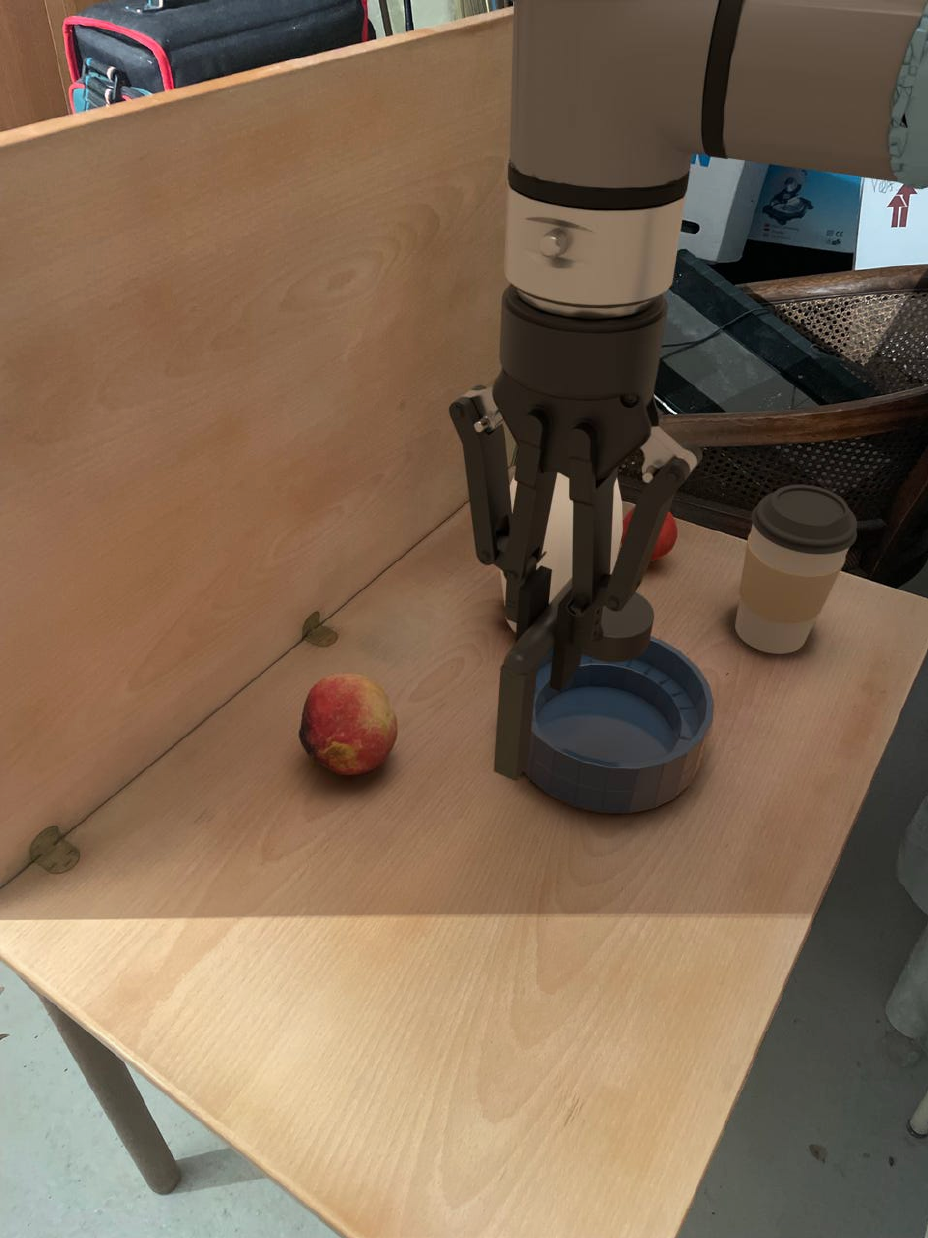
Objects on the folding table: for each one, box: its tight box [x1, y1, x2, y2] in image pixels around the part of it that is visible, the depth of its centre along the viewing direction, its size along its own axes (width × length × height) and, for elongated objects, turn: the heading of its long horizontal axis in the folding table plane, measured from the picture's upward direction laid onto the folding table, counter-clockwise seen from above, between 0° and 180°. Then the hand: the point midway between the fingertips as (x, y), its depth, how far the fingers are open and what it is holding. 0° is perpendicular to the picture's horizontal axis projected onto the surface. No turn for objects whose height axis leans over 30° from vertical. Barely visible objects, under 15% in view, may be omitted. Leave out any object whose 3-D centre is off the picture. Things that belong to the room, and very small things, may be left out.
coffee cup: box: [734, 484, 858, 655], centre depth 83 cm, size 9×9×15 cm
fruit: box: [298, 673, 398, 776], centre depth 72 cm, size 8×8×8 cm
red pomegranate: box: [620, 507, 678, 563], centre depth 94 cm, size 6×6×8 cm
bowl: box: [523, 635, 715, 814], centre depth 75 cm, size 16×16×6 cm
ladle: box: [493, 578, 655, 782], centre depth 59 cm, size 19×6×10 cm, turn 149°
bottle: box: [499, 473, 624, 634], centre depth 81 cm, size 11×11×25 cm
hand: (546, 668), depth 56 cm, fingers closed on ladle, 2 cm apart
